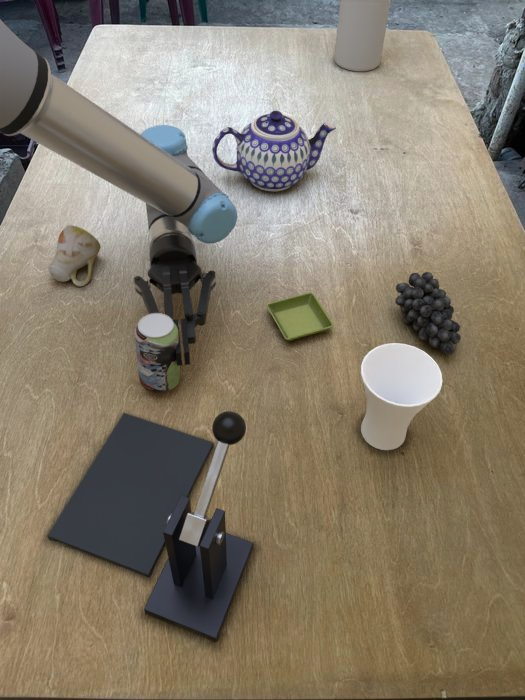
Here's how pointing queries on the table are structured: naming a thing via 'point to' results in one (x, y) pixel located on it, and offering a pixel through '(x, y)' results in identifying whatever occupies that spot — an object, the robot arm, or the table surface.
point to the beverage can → (157, 352)
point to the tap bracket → (198, 575)
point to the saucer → (299, 316)
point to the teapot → (274, 150)
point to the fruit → (429, 311)
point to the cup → (396, 391)
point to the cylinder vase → (361, 33)
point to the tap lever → (213, 475)
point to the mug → (74, 254)
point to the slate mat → (131, 493)
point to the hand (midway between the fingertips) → (183, 358)
